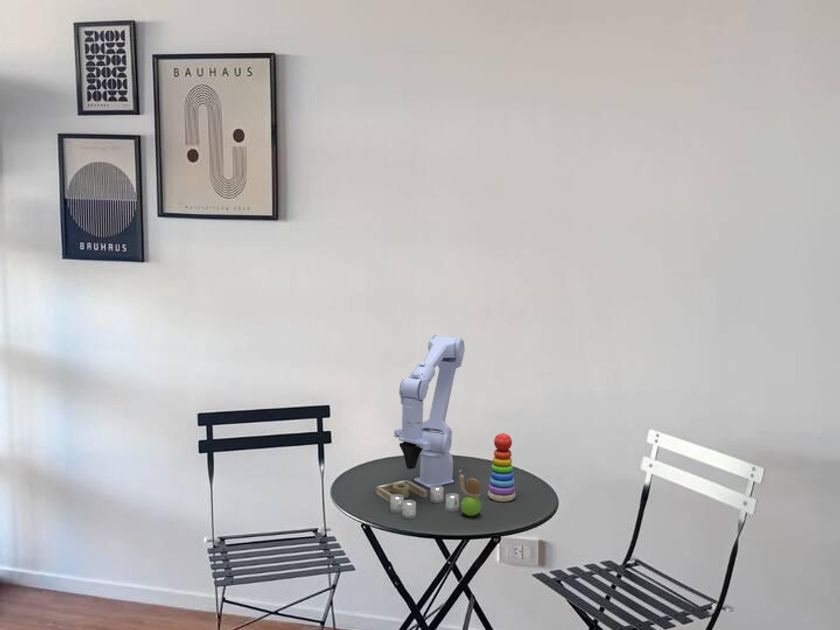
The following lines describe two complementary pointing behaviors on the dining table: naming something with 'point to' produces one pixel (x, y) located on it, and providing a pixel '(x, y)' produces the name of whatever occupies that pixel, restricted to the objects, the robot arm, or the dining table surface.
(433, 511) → the dining table surface
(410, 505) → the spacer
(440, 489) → the cylinder
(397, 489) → the brass nut
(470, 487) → the snail figurine
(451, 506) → the cylinder
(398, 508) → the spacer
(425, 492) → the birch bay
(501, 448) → the stacking toy
